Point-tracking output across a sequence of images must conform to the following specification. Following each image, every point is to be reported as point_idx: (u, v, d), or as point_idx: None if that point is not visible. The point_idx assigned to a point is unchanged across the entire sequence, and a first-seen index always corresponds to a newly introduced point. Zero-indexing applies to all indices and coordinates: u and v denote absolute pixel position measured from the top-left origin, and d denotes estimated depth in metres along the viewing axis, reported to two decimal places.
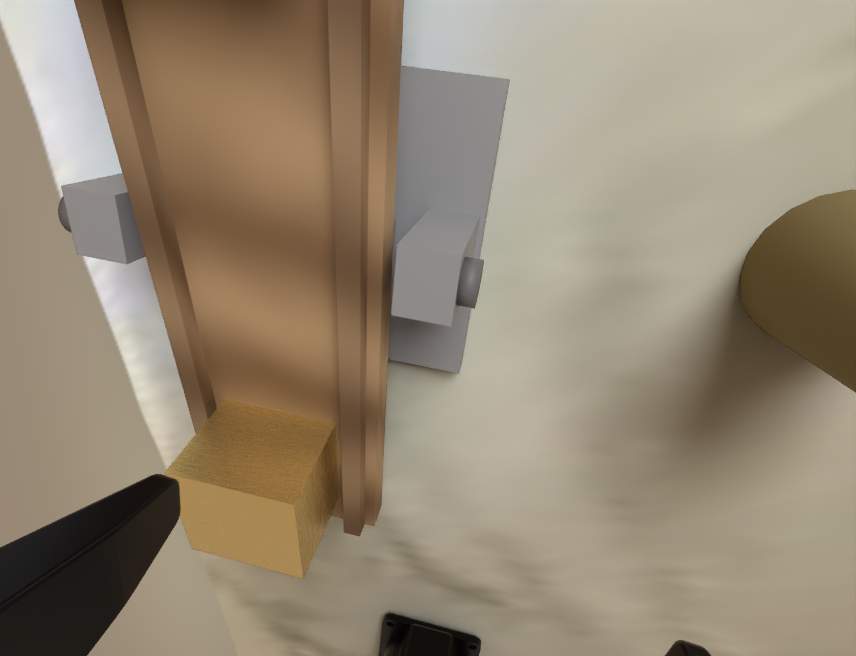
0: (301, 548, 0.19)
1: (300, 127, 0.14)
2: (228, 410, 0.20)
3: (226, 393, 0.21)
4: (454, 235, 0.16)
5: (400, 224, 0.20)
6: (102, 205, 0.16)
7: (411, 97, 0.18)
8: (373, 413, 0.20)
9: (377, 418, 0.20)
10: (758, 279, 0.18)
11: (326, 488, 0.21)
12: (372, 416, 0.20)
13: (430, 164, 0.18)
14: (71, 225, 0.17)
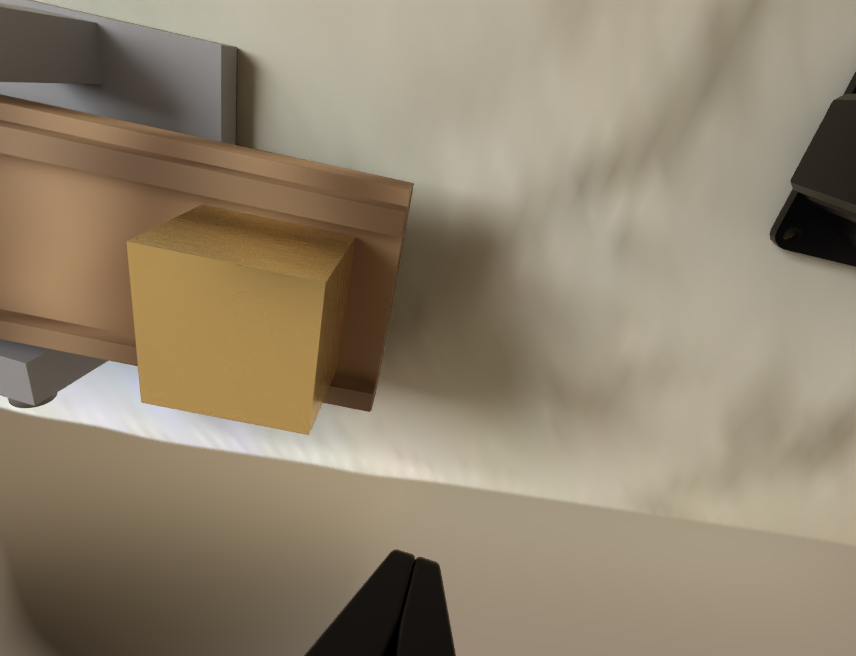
0: (249, 264, 0.12)
1: None
2: None
3: None
4: None
5: (68, 106, 0.19)
6: None
7: None
8: (161, 143, 0.15)
9: (170, 139, 0.15)
10: None
11: (270, 232, 0.15)
12: (167, 146, 0.15)
13: None
14: (10, 397, 0.19)
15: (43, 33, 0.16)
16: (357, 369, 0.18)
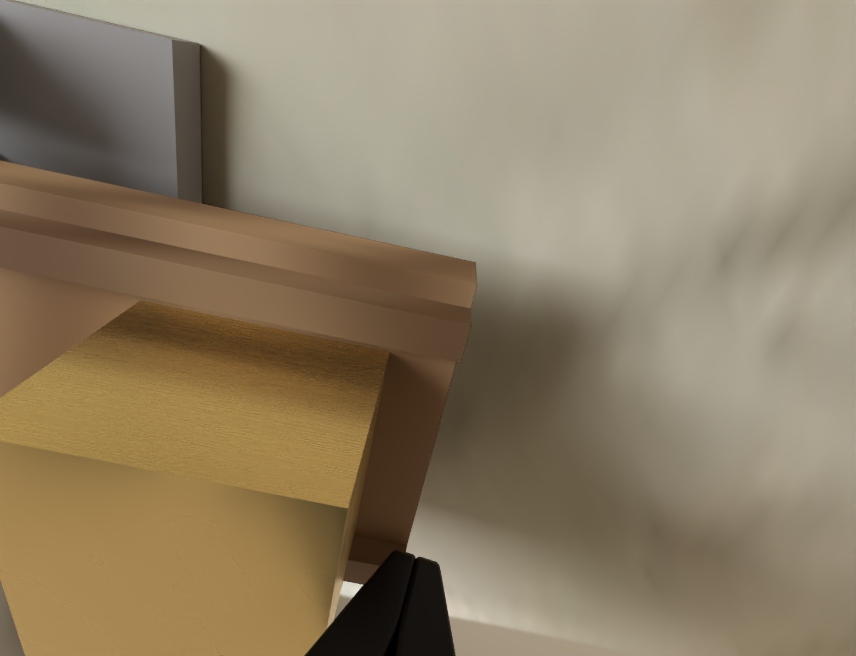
0: (198, 469, 0.06)
1: None
2: None
3: None
4: None
5: None
6: None
7: None
8: (59, 204, 0.09)
9: (74, 198, 0.09)
10: None
11: (249, 360, 0.09)
12: (69, 209, 0.09)
13: None
14: None
15: None
16: (379, 527, 0.12)
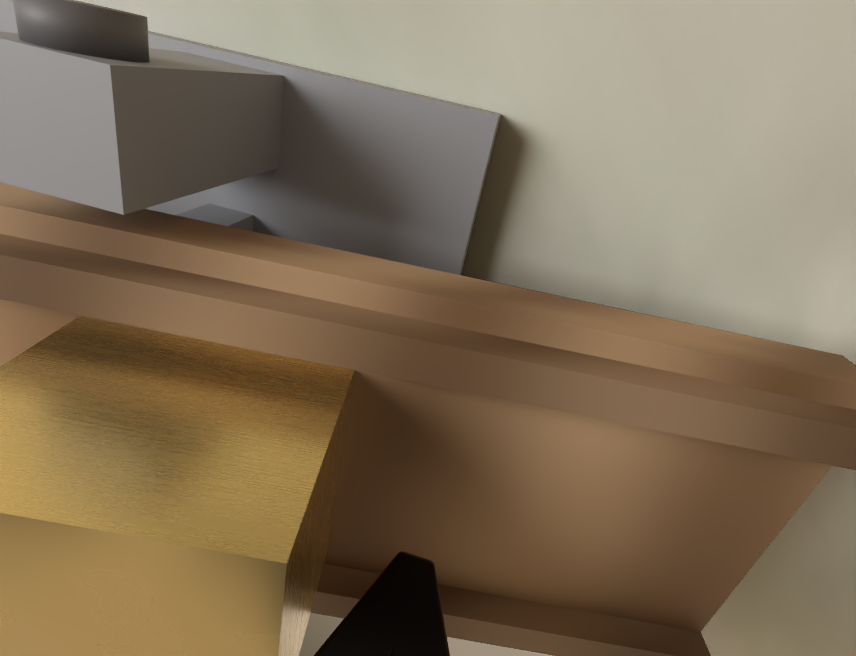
0: (112, 520, 0.05)
1: None
2: None
3: None
4: None
5: (217, 197, 0.12)
6: None
7: None
8: (459, 310, 0.08)
9: (476, 304, 0.08)
10: None
11: (193, 384, 0.08)
12: (468, 314, 0.08)
13: None
14: None
15: (228, 104, 0.09)
16: (678, 615, 0.12)
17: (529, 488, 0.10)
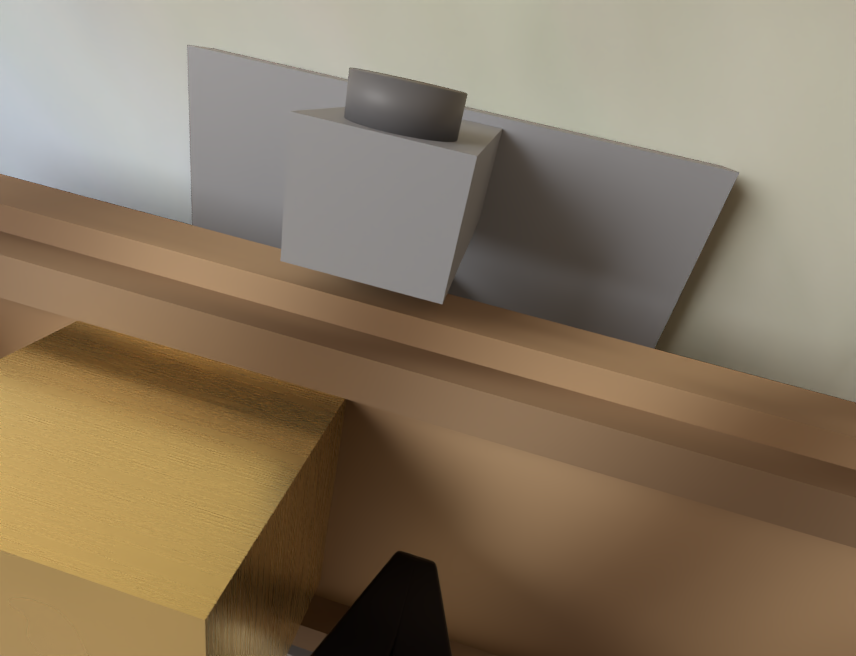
0: (36, 545, 0.05)
1: None
2: None
3: None
4: None
5: None
6: None
7: (226, 203, 0.12)
8: (781, 428, 0.07)
9: (805, 423, 0.07)
10: None
11: (171, 398, 0.07)
12: (792, 434, 0.07)
13: None
14: None
15: (486, 169, 0.09)
16: None
17: (808, 628, 0.08)
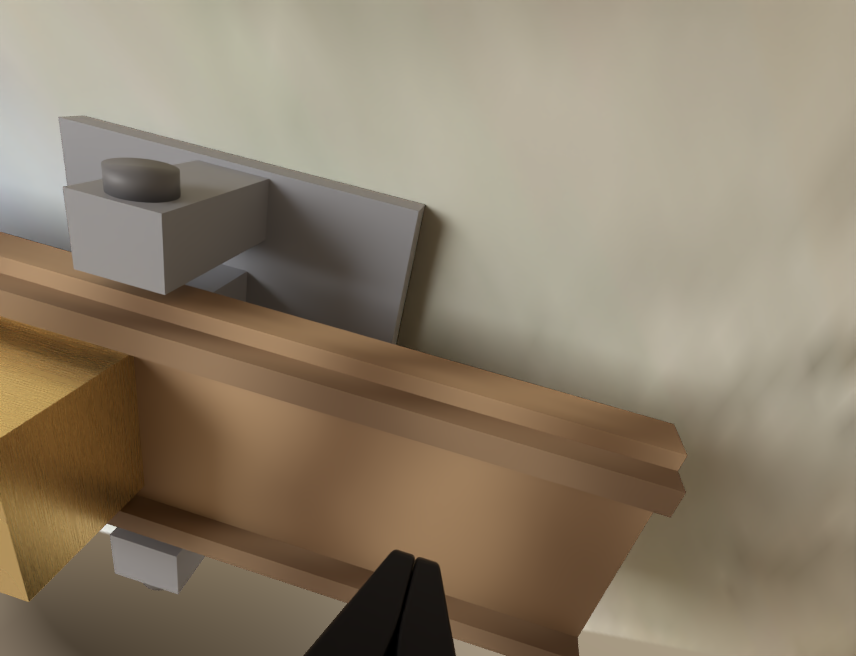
0: None
1: None
2: None
3: (359, 553, 0.15)
4: None
5: None
6: (122, 549, 0.16)
7: None
8: (369, 369, 0.12)
9: (380, 366, 0.12)
10: None
11: (10, 350, 0.12)
12: (375, 372, 0.12)
13: None
14: (149, 584, 0.17)
15: (230, 210, 0.13)
16: (557, 620, 0.14)
17: (429, 501, 0.13)
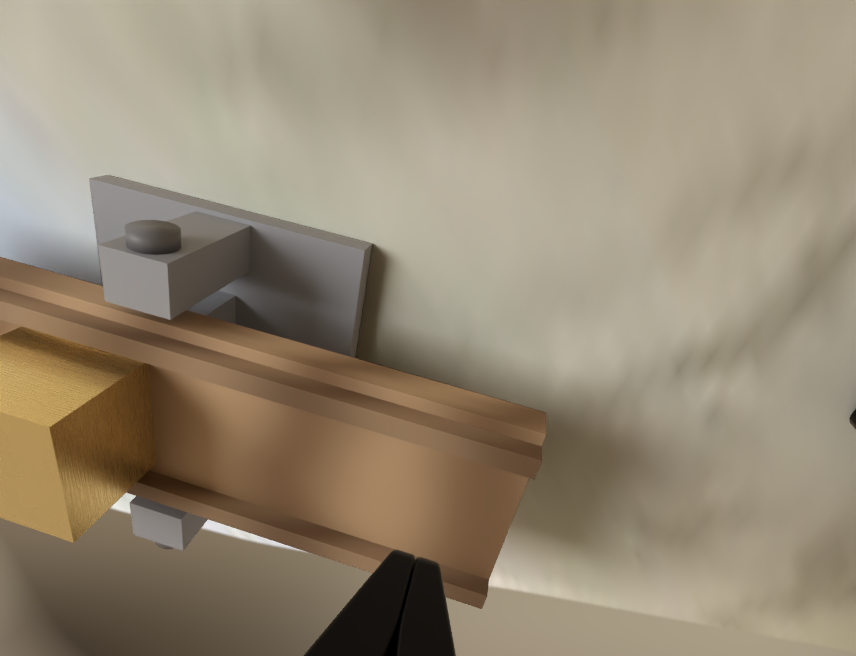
0: None
1: None
2: None
3: (321, 514, 0.19)
4: None
5: None
6: (139, 514, 0.21)
7: None
8: (318, 372, 0.16)
9: (326, 370, 0.16)
10: None
11: (59, 360, 0.17)
12: (323, 375, 0.16)
13: None
14: (160, 542, 0.22)
15: (219, 254, 0.18)
16: (472, 565, 0.19)
17: (369, 472, 0.18)
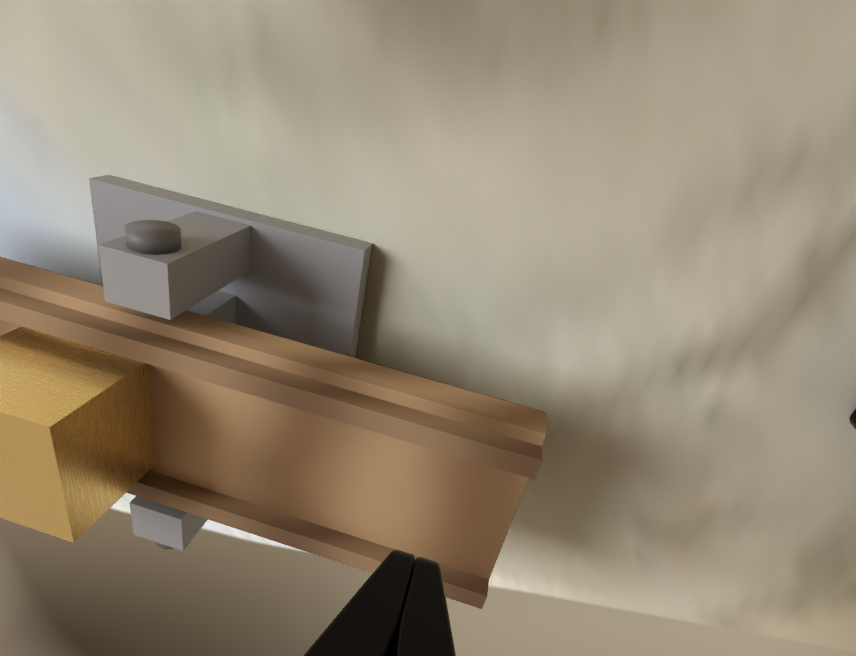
0: None
1: None
2: None
3: (321, 514, 0.19)
4: None
5: None
6: (139, 514, 0.21)
7: None
8: (318, 372, 0.16)
9: (326, 370, 0.16)
10: None
11: (59, 360, 0.17)
12: (323, 375, 0.16)
13: None
14: (160, 542, 0.22)
15: (219, 254, 0.18)
16: (472, 565, 0.19)
17: (369, 472, 0.18)
